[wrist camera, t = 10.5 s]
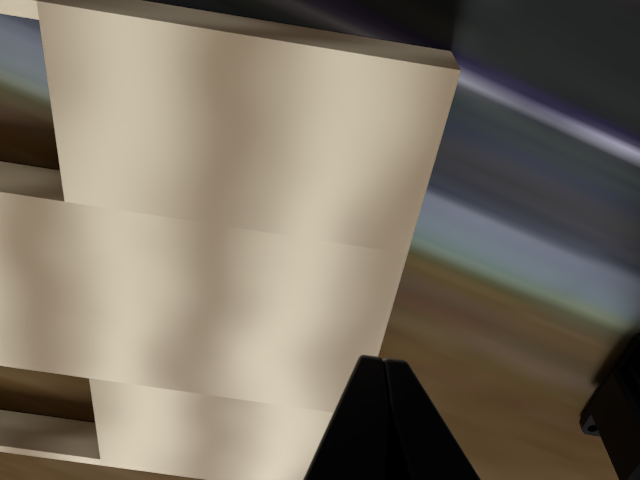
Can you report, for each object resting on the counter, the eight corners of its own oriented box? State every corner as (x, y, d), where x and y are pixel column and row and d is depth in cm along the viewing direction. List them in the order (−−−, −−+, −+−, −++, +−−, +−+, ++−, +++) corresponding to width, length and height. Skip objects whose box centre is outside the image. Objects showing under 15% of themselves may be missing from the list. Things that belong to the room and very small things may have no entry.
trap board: (450, 51, 17) (470, 87, 14) (338, 462, 30) (335, 526, 27) (-455, -99, 16) (-631, -92, 13) (-181, 390, 29) (-242, 448, 26)
